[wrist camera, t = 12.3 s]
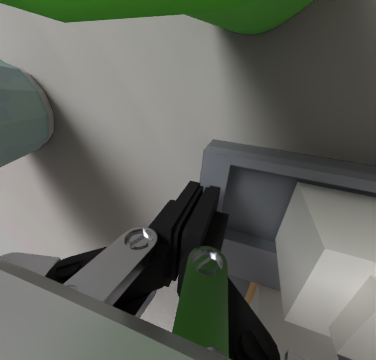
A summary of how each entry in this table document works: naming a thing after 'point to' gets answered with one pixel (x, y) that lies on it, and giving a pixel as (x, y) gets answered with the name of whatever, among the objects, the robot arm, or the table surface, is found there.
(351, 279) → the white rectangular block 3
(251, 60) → the table surface
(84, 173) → the table surface
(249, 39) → the table surface
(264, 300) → the white stepped block
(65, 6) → the cup
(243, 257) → the switch board
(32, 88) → the disposable coffee cup
